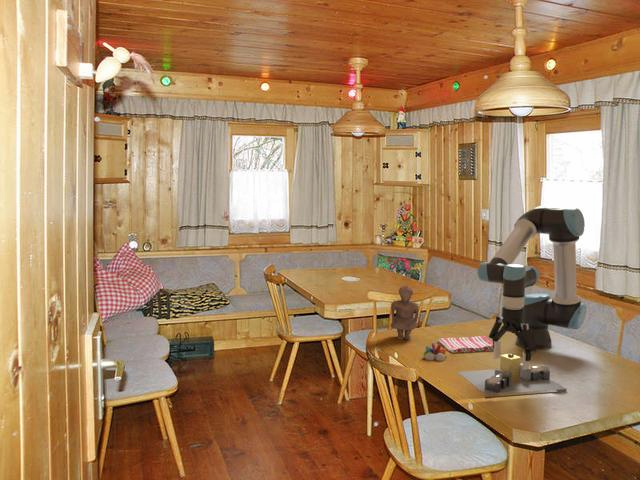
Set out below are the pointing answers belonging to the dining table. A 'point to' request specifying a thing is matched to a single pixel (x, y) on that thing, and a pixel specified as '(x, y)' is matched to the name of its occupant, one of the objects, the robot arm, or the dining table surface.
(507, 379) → the grey notched block
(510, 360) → the tan rectangular block
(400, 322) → the clay figurine
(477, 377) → the grey base plate
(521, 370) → the grey metal block
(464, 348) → the dish towel
